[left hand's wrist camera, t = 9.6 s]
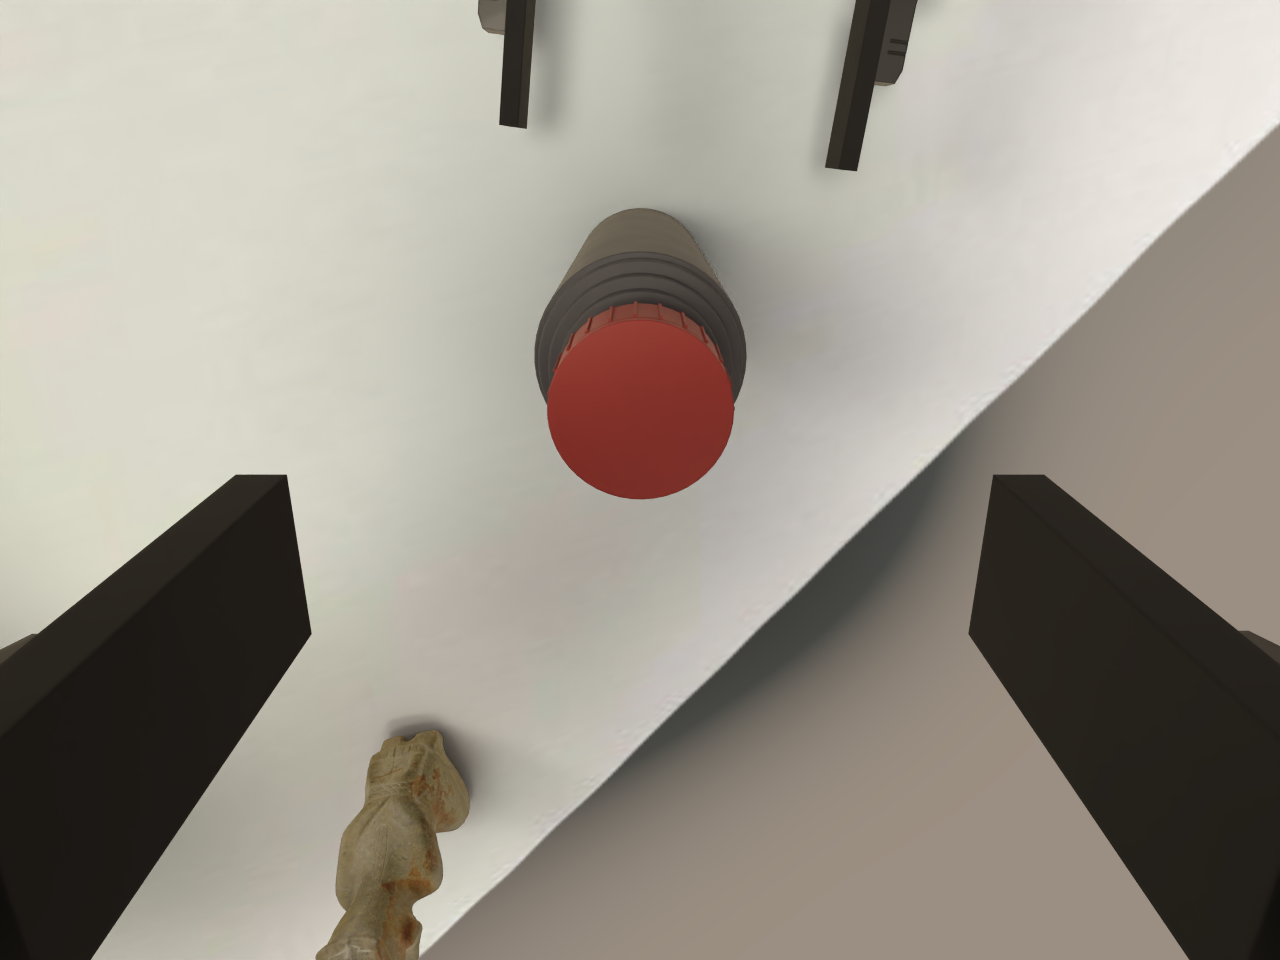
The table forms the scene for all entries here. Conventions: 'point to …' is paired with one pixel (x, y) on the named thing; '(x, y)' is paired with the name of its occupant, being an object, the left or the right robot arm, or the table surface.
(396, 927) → the sculpture
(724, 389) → the cap
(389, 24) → the table surface
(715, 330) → the bottle
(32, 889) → the left robot arm
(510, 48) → the right robot arm
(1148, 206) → the table surface
